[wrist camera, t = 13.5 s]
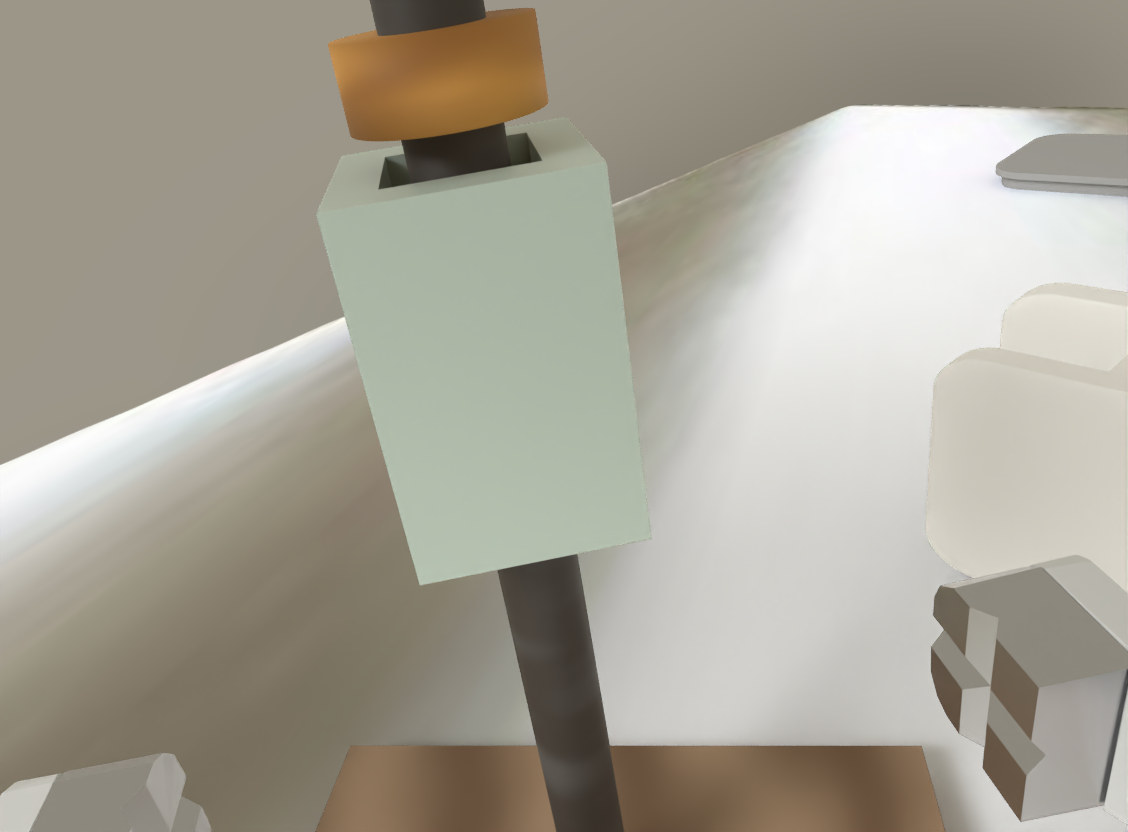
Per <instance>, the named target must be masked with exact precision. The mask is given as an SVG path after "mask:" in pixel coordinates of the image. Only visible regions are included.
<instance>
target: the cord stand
mask: <svg viewBox="0 0 1128 832" xmlns="http://www.w3.org/2000/svg"><path fill="white" fill-rule="evenodd" d="M370 3H371V8H372V12H373V17H374V21H375V26H376V30H375V31H370V32H365V33H361V34H356V35H352V36H349V37H344V38H341V39H338V40H335V41H332V42H330V43H328V47H329V51H330V55H331V59H332V63H333V67H334V71H335V75H336V79H337V83H338V87H339V91H340V95H341V99H342V103H343V107H344V111H345V115H346V119H347V123H348V127H349V131H350V135H351V137H352V138H354V139H358V140H364V141H396V140H397V141H398V140H401V141H402V146H403V151H404V155H405V160H406V164H407V168H408V173H409V177H410V182H411V184H414V183H419V182H425V181H431V180H436V179H442V178H448V177H453V176H459V175H465V174H470V173H476V172H482V171H487V170H493V169H499V168H504V167H510V166H511V160H510V154H509V148H508V143H507V137H506V131H505V126H504V122H507V121H510V120H513V119H516V118H520V117H523V116H525V115H528V114H531V113H533V112H535V111H537V110H540V109H541V108H543V107H544V106H546V105H547V104H548V94H547V88H546V81H545V74H544V67H543V60H542V53H541V46H540V39H539V32H538V25H537V18H536V12H535V9H533V8H518V9H506V10H496V11H488V12H485V7H484V1H483V0H370ZM498 574H499V579H500V583H501V588H502V592H503V596H504V601H505V605H506V610H507V614H508V619H509V623H510V628H511V632H512V637H513V641H514V646H515V650H516V654H517V659H518V663H519V668H520V672H521V677H522V681H523V686H524V690H525V695H526V699H527V703H528V708H529V712H530V717H531V721H532V726H533V730H534V735H535V739H536V744H537V746H350V749H349V751H348V753H347V756H346V758H345V761H344V763H343V766H342V768H341V770H340V773H339V775H338V778H337V780H336V783H335V785H334V788H333V790H332V792H331V795H330V797H329V800H328V802H327V805H326V807H325V809H324V812H323V814H322V817H321V819H320V822H319V824H318V827H317V829H316V831H315V832H945V829H944V825H943V822H942V818H941V815H940V811H939V807H938V804H937V800H936V797H935V793H934V790H933V786H932V782H931V779H930V775H929V772H928V768H927V764H926V761H925V757H924V754H923V750H922V746H610V745H609V739H608V733H607V727H606V721H605V715H604V710H603V704H602V698H601V692H600V686H599V680H598V674H597V668H596V662H595V656H594V650H593V645H592V639H591V633H590V627H589V621H588V615H587V609H586V603H585V597H584V591H583V586H582V580H581V574H580V568H579V562H578V556H577V554H574V555H569V556H564V557H559V558H554V559H549V560H544V561H539V562H534V563H529V564H524V565H519V566H514V567H509V568H504V569H499V570H498Z"/></svg>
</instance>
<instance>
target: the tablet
mask: <svg viewBox="0 0 1128 832" xmlns="http://www.w3.org/2000/svg"><path fill="white" fill-rule="evenodd" d="M996 174H997V175H999V176H1001V177H1002V185H1003V186H1005V187H1008V188H1012V189H1021V190H1036V191H1051V192H1066V193H1081V194H1096V195H1111V196H1126V197H1128V135H1104V134H1056V135H1049V136H1043V137H1039V138H1037V139H1034V140H1033V141H1031V142H1030V143H1028V144H1027V145H1025V146H1023V147H1022V148H1020V149H1019V150H1017V151H1016V152H1014V153H1013V154H1011V155H1010V156H1008V157H1007V158H1005V159H1004V160H1002V161H1001V162H999V163H998V164H997V165H996Z"/></svg>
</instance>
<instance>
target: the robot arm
mask: <svg viewBox="0 0 1128 832" xmlns="http://www.w3.org/2000/svg"><path fill="white" fill-rule="evenodd" d="M933 616H934V617H935V618H936V620H937V621H938V622H939V623H940V625H941V626H942V627H943V629H944V631H943V632H942V634H941V635H940V636H939V638H938V639H937V640H936V642H935V643H934V644H933V645H932V647H931V673H932V677H933V681H934V685H935V689H936V692H937V696H938V698H939V700H940V702H941V705H942V707H943V709H944V711H945V713H946V715H947V716H948V718H949V719H950V721H951V722H952V724H953V725H954V727H955V728H956V730H957V731H958V733H959V734H960V735H962V736H964V737H966V738H968V739H970V740H972V741H974V742H976V743H978V744H979V745H981V746H983V747H985V749H984V760H983V769H984V770H985V772H986V773H987V775H988V776H989V777H990V779H991V780H992V782H993V783H994V785H995V786H996V787H997V789H998V790H999V792H1000V793H1001V795H1002V796H1003V797H1004V799H1005V800H1006V802H1007V803H1008V804H1009V806H1010V807H1011V809H1012V810H1013V812H1014V813H1015V814H1016V816H1017V817H1018V819H1019V820H1020V822H1022V821H1027V820H1032V819H1037V818H1042V817H1047V816H1052V815H1057V814H1062V813H1067V812H1072V811H1077V810H1082V809H1087V808H1092V807H1097V806H1102V805H1104V809H1103V810H1105V811H1106V812H1108V813H1109V814H1111V815H1112V816H1114V817H1116V818H1117V819H1119V820H1120V821H1122V822H1123V823H1125V824H1127V825H1128V593H1127V592H1126V591H1125V590H1123V589H1122V588H1121V587H1120V586H1119V585H1118V584H1117V583H1116V582H1114V581H1113V580H1112V579H1111V578H1110V577H1109V576H1108V575H1107V574H1105V573H1104V572H1103V571H1102V570H1101V569H1100V568H1099V567H1097V566H1096V565H1095V564H1094V563H1093V562H1092V561H1091V560H1089V559H1087V558H1084V557H1082V556H1079V555H1072V556H1068V557H1063V558H1059V559H1055V560H1050V561H1046V562H1042V563H1037V564H1033V565H1031V566H1029V567H1021V568H1017V569H1012V570H1008V571H1004V572H999V573H995V574H990V575H986V576H981V577H977V578H972V579H968V580H963V581H959V582H954V583H950V584H945V585H941V586H940V587H939V589H938V591H937V593H936V595H935V598H934V611H933ZM185 780H186V775H185V773H184V771H183V770H182V768H181V766H180V764H179V763H178V761H177V759H176V757H175V756H174V755H173V754H167V753H159V754H154V755H149V756H143V757H138V758H133V759H128V760H122V761H117V762H112V763H107V764H101V765H96V766H91V767H85V768H80V769H75V770H70V771H66V772H65V773H61V774H55V775H50V776H44V777H39V778H33V779H28V780H22V781H17V782H15V783H14V784H13V785H11V786H10V787H9V788H8V789H7V790H5V791H4V792H3V793H2V794H1V796H0V832H212V831H211V827H210V823H209V821H208V818H207V816H206V814H205V812H204V810H203V808H202V806H200V805H198V804H196V803H194V802H193V801H191V800H189V799H187V798H185V797H183V796H181V794H182V791H183V787H184V784H185Z"/></svg>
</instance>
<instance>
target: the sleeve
mask: <svg viewBox="0 0 1128 832" xmlns="http://www.w3.org/2000/svg"><path fill="white" fill-rule="evenodd" d="M505 131H506V137H507V143H508V148H509V154H510V160H511V166H510V167H504V168H499V169H493V170H487V171H482V172H476V173H470V174H465V175H459V176H453V177H448V178H442V179H436V180H431V181H425V182H419V183H414V184H411V182H410V177H409V173H408V168H407V164H406V160H405V155H404V151H403V146H397V147H391V148H385V149H380V150H374V151H367V152H362V153H357V154H350V155H344V156H341V158H340V161H339V163H338V165H337V167H336V170H335V172H334V174H333V177H332V179H331V181H330V183H329V186H328V188H327V190H326V192H325V195H324V197H323V199H322V201H321V204H320V206H319V209H318V210H317V213H316V215H317V219H318V222H319V226H320V229H321V233H322V237H323V240H324V244H325V248H326V251H327V255H328V258H329V262H330V265H331V269H332V273H333V276H334V280H335V283H336V287H337V291H338V294H339V297H340V301H341V305H342V308H343V312H344V316H345V319H346V323H347V326H348V330H349V334H350V337H351V341H352V344H353V348H354V351H355V355H356V359H357V362H358V366H359V369H360V373H361V377H362V380H363V384H364V387H365V391H366V394H367V398H368V402H369V405H370V409H371V412H372V416H373V420H374V423H375V427H376V430H377V434H378V437H379V441H380V445H381V448H382V452H383V455H384V459H385V463H386V466H387V470H388V473H389V477H390V480H391V484H392V488H393V491H394V495H395V498H396V502H397V506H398V509H399V513H400V516H401V520H402V523H403V527H404V531H405V534H406V538H407V541H408V545H409V549H410V552H411V556H412V559H413V563H414V566H415V570H416V574H417V577H418V581H419V584H420V585H425V584H430V583H435V582H440V581H445V580H449V579H454V578H459V577H464V576H469V575H474V574H479V573H484V572H489V571H494V570H499V569H504V568H509V567H514V566H519V565H524V564H529V563H534V562H539V561H544V560H549V559H554V558H559V557H564V556H569V555H574V554H579V553H584V552H589V551H594V550H599V549H604V548H609V547H614V546H619V545H624V544H629V543H634V542H639V541H644V540H649V539H651V531H650V523H649V514H648V506H647V498H646V489H645V481H644V473H643V464H642V456H641V447H640V439H639V431H638V422H637V414H636V405H635V397H634V389H633V380H632V372H631V363H630V355H629V347H628V338H627V330H626V321H625V313H624V305H623V296H622V288H621V279H620V271H619V263H618V254H617V246H616V237H615V229H614V221H613V212H612V204H611V196H610V187H609V179H608V171H607V162H606V161H605V160H604V159H603V158H602V156H601V155H600V154H599V153H598V152H597V151H596V150H595V149H594V148H593V146H592V145H591V144H590V143H589V142H588V141H587V140H586V138H585V137H584V136H583V135H582V134H581V133H580V132H579V130H578V129H577V128H576V127H575V126H574V125H573V124H572V123H571V121H570V120H569V119H568V118H567V117H563V118H557V119H551V120H546V121H540V122H534V123H528V124H523V125H517V126H511V127H506V128H505Z"/></svg>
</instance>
